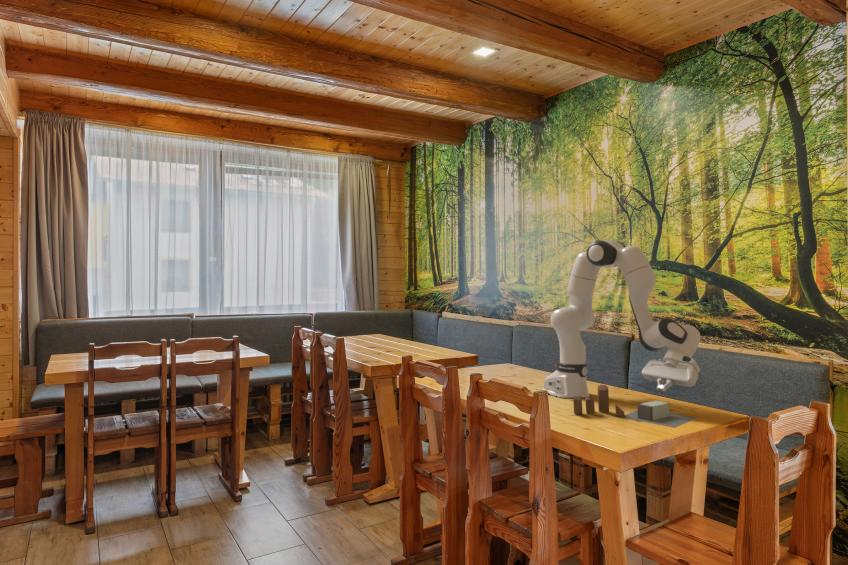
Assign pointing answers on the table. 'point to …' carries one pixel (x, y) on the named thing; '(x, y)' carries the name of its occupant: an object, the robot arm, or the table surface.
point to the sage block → (653, 410)
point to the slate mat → (663, 419)
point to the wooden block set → (602, 403)
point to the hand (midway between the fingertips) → (660, 390)
